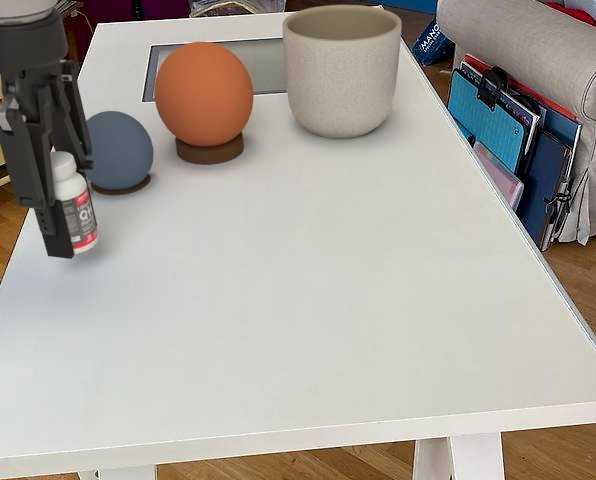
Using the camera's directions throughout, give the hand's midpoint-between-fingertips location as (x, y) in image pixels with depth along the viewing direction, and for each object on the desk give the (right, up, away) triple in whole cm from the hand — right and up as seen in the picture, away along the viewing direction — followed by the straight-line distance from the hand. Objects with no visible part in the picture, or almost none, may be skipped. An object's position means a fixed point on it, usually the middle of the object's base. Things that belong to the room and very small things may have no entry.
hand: (73, 240), depth 79 cm
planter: (+31, +25, +34) cm, 52 cm away
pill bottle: (0, 0, 0) cm, 1 cm away
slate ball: (+1, +10, +19) cm, 22 cm away
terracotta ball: (+12, +19, +29) cm, 37 cm away
